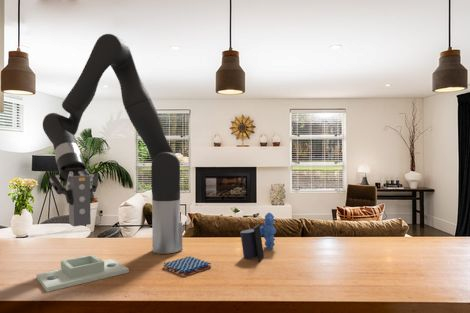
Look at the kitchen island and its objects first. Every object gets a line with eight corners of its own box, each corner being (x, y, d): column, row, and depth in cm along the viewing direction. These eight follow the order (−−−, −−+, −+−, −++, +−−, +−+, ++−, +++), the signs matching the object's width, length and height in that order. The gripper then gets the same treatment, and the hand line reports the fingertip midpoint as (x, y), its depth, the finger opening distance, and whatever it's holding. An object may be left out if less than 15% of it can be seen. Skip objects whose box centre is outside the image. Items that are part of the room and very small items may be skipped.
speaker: (270, 256, 104) (266, 223, 105) (259, 262, 100) (255, 227, 100) (250, 254, 109) (247, 223, 109) (240, 260, 105) (236, 227, 105)
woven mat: (189, 261, 103) (189, 254, 103) (212, 269, 95) (212, 262, 95) (160, 269, 95) (160, 262, 95) (183, 279, 88) (183, 271, 88)
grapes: (257, 243, 122) (257, 210, 122) (275, 243, 122) (275, 210, 122) (257, 252, 110) (256, 216, 110) (277, 252, 110) (277, 216, 110)
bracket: (112, 262, 101) (112, 250, 101) (128, 272, 92) (128, 259, 92) (36, 278, 88) (36, 264, 88) (46, 291, 78) (46, 277, 79)
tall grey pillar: (85, 221, 101) (84, 175, 101) (90, 224, 97) (90, 176, 97) (69, 223, 98) (68, 176, 98) (74, 226, 94) (73, 176, 94)
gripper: (45, 151, 98) (56, 196, 89) (95, 151, 108) (109, 191, 98) (42, 169, 102) (51, 213, 93) (91, 167, 112) (103, 207, 103)
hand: (81, 202), depth 96 cm, fingers closed on tall grey pillar, 4 cm apart
